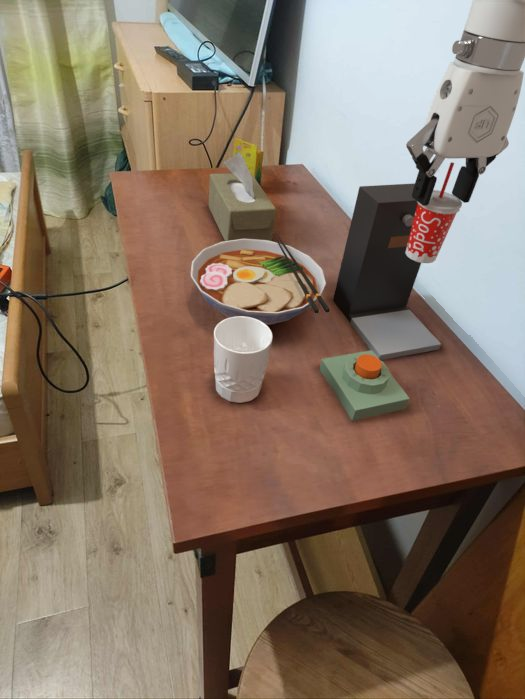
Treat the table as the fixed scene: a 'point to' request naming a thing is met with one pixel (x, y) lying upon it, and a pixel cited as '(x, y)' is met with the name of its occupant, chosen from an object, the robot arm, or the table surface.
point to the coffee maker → (382, 273)
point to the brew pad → (362, 387)
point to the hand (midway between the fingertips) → (440, 198)
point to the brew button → (368, 366)
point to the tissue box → (240, 203)
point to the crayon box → (250, 157)
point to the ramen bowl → (258, 280)
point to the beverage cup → (432, 224)
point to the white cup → (240, 357)
